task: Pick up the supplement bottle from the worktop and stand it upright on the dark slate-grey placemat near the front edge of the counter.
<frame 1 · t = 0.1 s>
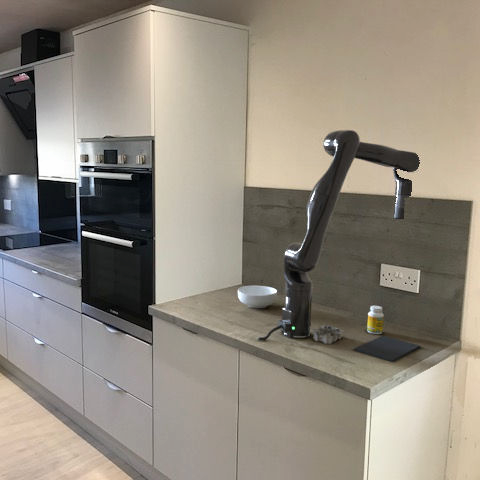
hand: (400, 248, 201), 29 cm above the worktop, tool pointing down, fingers open, 8 cm apart
egg carton: (326, 339, 186), on the worktop
cereal bowl: (256, 306, 226), on the worktop
placemat: (387, 348, 177), on the worktop
supplement bottle: (374, 332, 194), on the worktop
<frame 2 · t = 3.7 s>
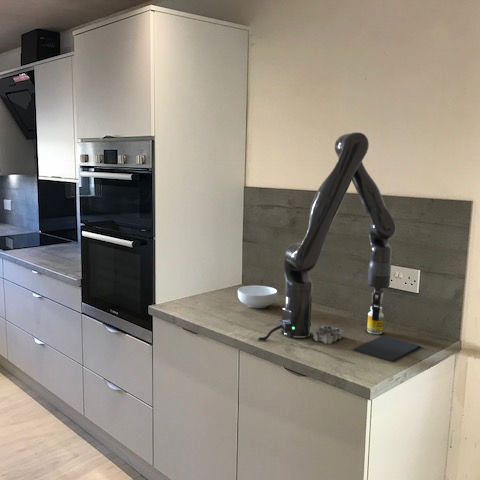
hand: (375, 317, 193), 5 cm above the worktop, tool pointing down, fingers closed on supplement bottle, 5 cm apart
supplement bottle: (374, 332, 194), on the worktop, touching gripper
everything else where it was.
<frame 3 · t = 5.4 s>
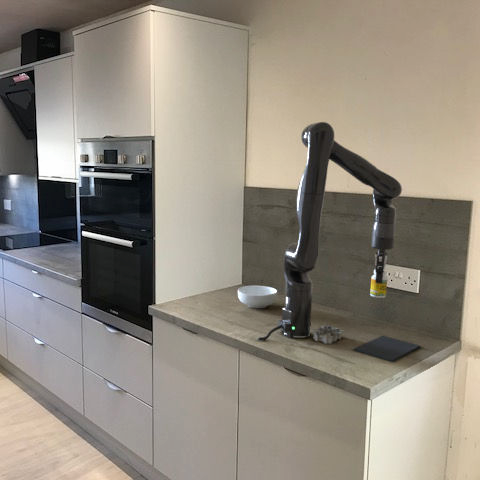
hand: (379, 281, 189), 20 cm above the worktop, tool pointing down, fingers closed on supplement bottle, 5 cm apart
supplement bottle: (377, 296, 190), point 14 cm above the worktop, touching gripper
everything else where it was.
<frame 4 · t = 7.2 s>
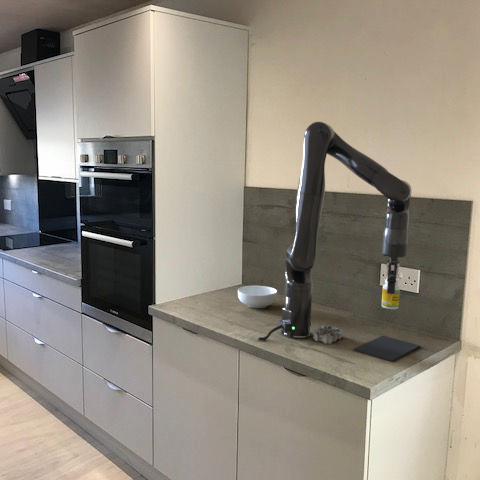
hand: (390, 291, 175), 20 cm above the worktop, tool pointing down, fingers closed on supplement bottle, 5 cm apart
supplement bottle: (389, 307, 176), point 14 cm above the worktop, touching gripper
everything else where it was.
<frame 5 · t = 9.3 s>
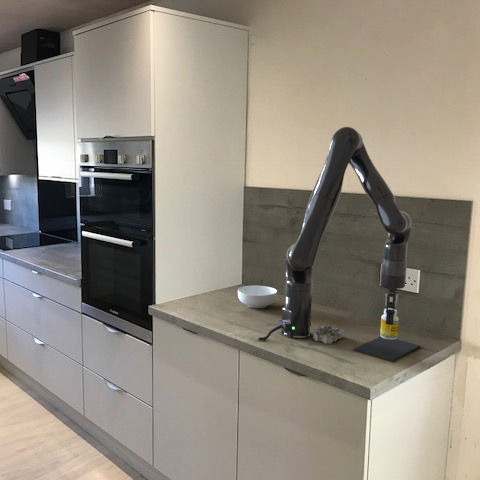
hand: (389, 321, 176), 9 cm above the worktop, tool pointing down, fingers closed on supplement bottle, 5 cm apart
supplement bottle: (388, 337, 177), point 4 cm above the worktop, touching gripper
everything else where it was.
when the fingers open (6 cm above the worktop, at t = 10.7 s): supplement bottle stays where it is, resting on placemat.
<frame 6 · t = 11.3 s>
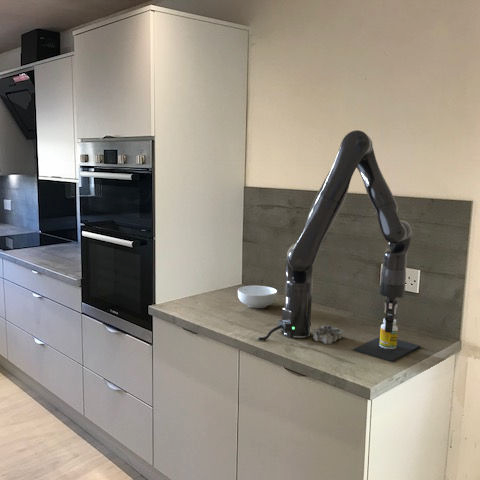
hand: (388, 328, 176), 7 cm above the worktop, tool pointing down, fingers open, 8 cm apart
supplement bottle: (387, 347, 177), resting on placemat
everything else where it was.
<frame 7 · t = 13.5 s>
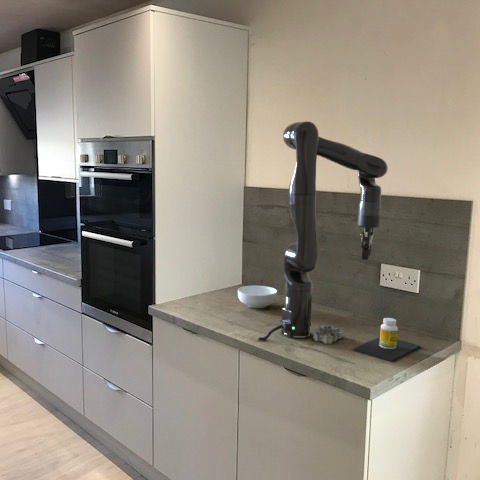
hand: (366, 257, 193), 27 cm above the worktop, tool pointing down, fingers open, 8 cm apart
nothing on the worktop moved.
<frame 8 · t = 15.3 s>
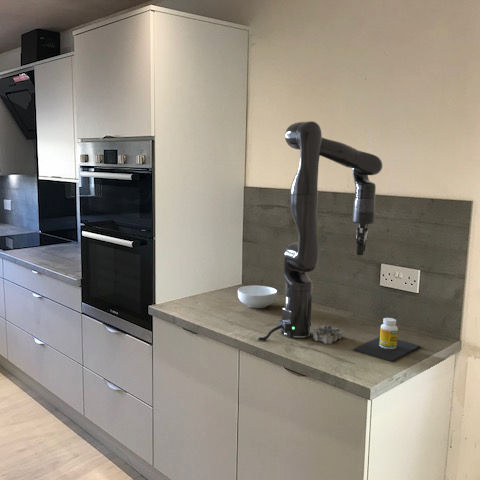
hand: (360, 253, 197), 28 cm above the worktop, tool pointing down, fingers open, 8 cm apart
nothing on the worktop moved.
at the end: supplement bottle inside the target area on the placemat (0.1 cm from its centre), point 0.4 cm above the placemat's base; supplement bottle tilted 0°; the gripper is holding nothing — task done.
